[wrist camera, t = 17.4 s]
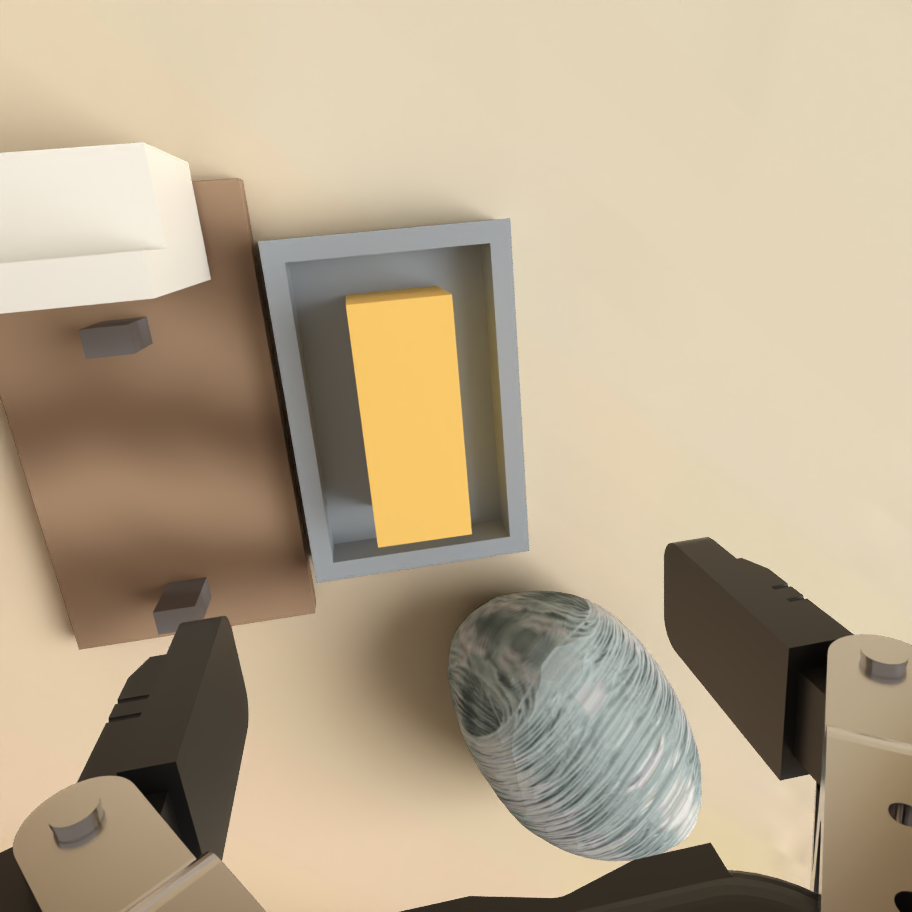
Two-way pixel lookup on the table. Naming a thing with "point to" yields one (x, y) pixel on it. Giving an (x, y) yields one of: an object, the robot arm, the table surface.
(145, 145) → the white stepped block
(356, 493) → the tray
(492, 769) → the streaked grey-blue ovoid
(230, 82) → the table surface
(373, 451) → the yellow rectangular block
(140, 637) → the clamp board
